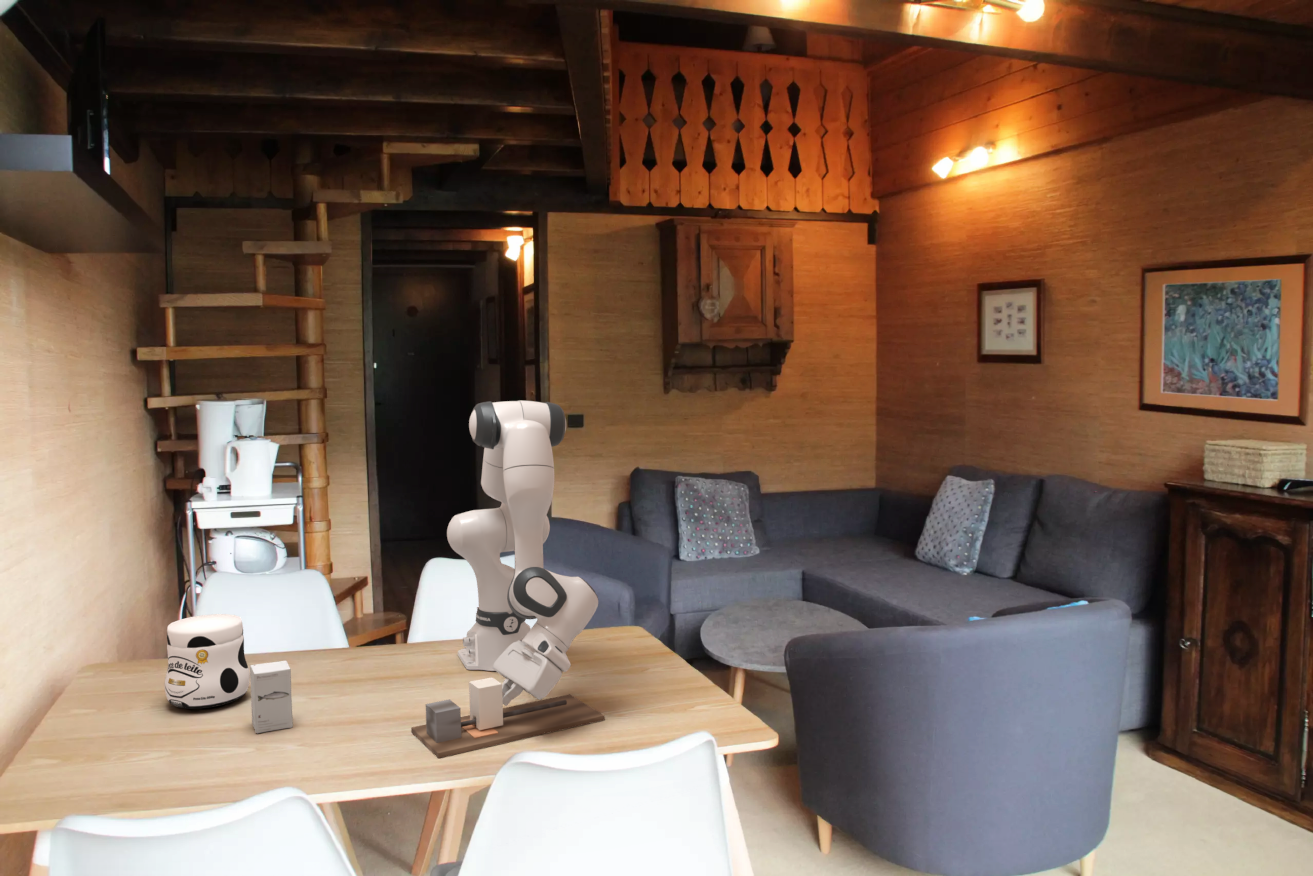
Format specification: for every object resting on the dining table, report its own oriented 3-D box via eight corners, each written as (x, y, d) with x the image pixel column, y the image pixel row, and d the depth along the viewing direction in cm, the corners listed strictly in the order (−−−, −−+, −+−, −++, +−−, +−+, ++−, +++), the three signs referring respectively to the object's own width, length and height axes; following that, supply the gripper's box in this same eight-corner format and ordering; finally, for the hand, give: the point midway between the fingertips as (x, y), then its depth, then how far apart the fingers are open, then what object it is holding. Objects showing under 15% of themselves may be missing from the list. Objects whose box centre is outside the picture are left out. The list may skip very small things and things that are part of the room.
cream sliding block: (470, 722, 201) (469, 681, 200) (493, 717, 204) (492, 677, 203) (479, 730, 197) (478, 688, 196) (503, 725, 199) (502, 684, 199)
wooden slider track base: (411, 732, 200) (410, 698, 200) (569, 698, 219) (569, 667, 219) (438, 758, 187) (437, 722, 186) (604, 720, 206) (604, 687, 205)
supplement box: (255, 734, 200) (252, 673, 199) (251, 723, 207) (249, 664, 206) (293, 728, 203) (291, 668, 202) (289, 717, 210) (286, 659, 209)
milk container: (155, 718, 210) (151, 635, 209) (177, 692, 227) (173, 615, 226) (242, 711, 214) (238, 630, 213) (257, 686, 231) (253, 610, 229)
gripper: (512, 627, 213) (471, 680, 209) (554, 650, 196) (510, 707, 192) (531, 644, 216) (491, 696, 212) (574, 668, 199) (531, 725, 194)
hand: (500, 702), depth 201 cm, fingers closed, pressing on cream sliding block
